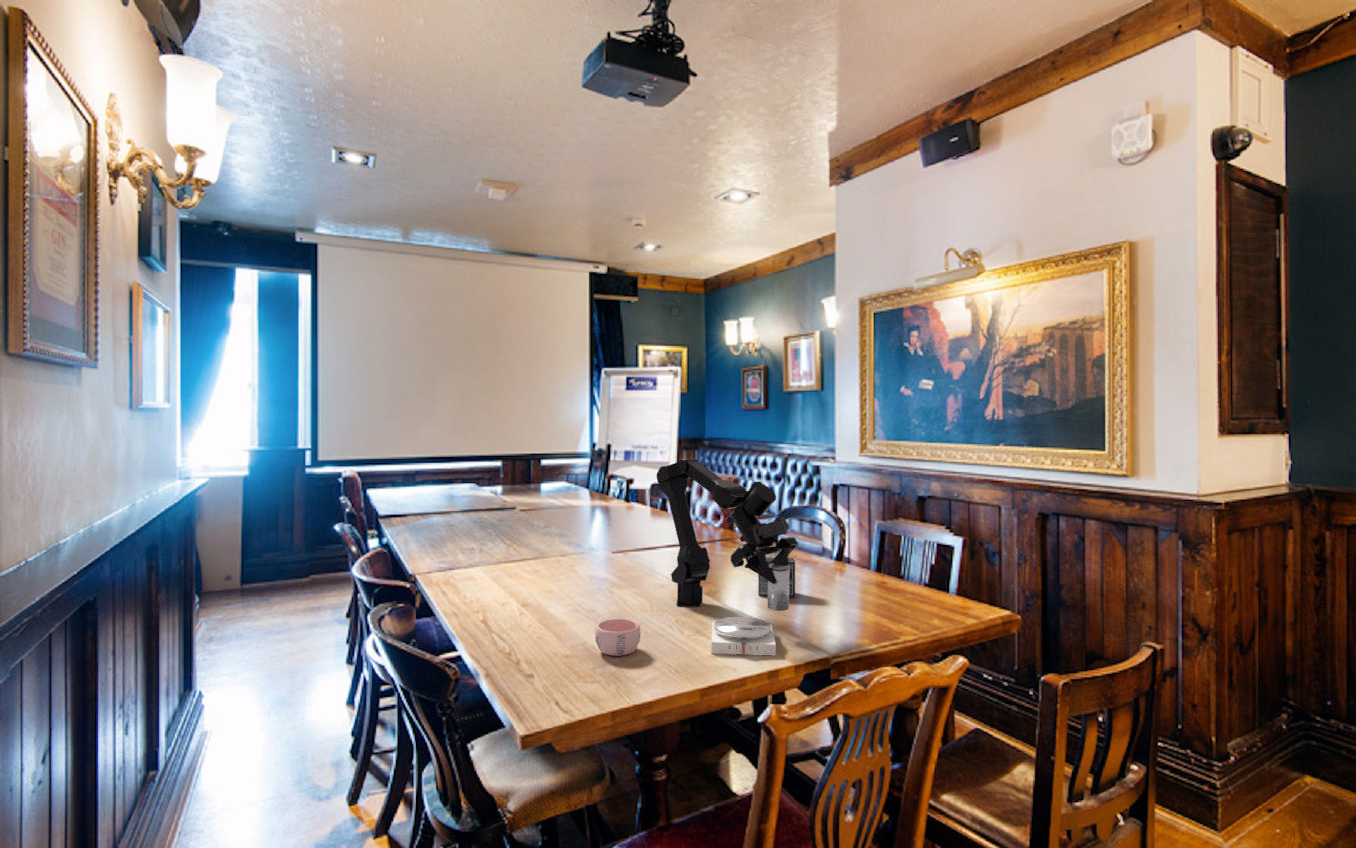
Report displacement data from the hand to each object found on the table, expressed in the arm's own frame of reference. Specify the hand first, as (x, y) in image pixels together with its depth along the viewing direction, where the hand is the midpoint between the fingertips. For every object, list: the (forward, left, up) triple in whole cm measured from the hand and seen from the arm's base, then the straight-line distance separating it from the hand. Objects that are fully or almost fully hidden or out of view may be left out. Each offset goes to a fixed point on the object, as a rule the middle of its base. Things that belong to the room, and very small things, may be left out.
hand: (782, 581), depth 153 cm
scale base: (-9, -5, -13) cm, 17 cm away
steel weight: (-1, +1, -7) cm, 7 cm away
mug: (-37, -12, -14) cm, 42 cm away
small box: (+2, +37, -14) cm, 40 cm away
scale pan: (-9, -6, -13) cm, 17 cm away
